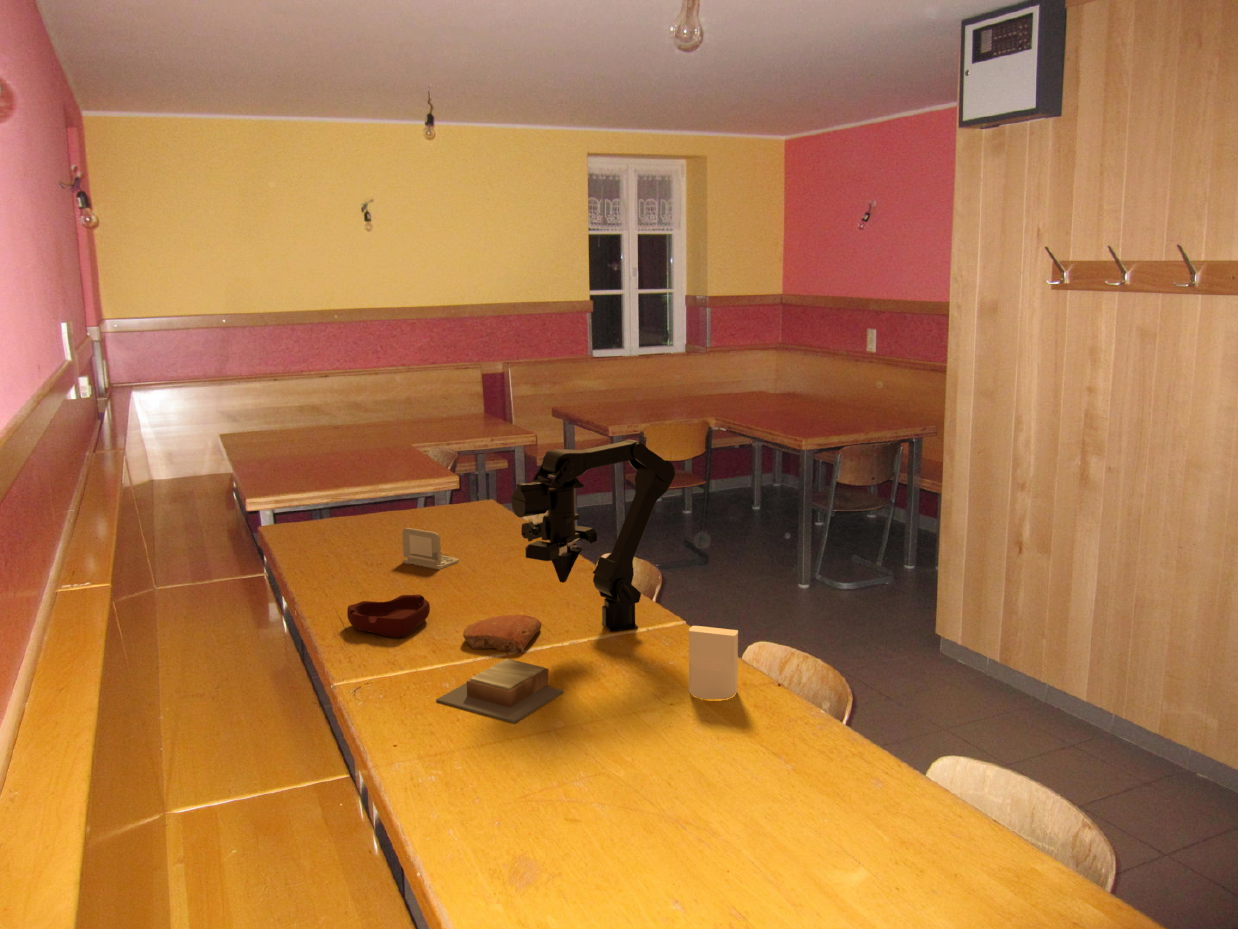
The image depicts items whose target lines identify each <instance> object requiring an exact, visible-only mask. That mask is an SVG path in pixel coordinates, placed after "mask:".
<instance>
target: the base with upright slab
mask: <svg viewBox="0 0 1238 929" xmlns="http://www.w3.org/2000/svg"><path fill="white" fill-rule="evenodd" d="M738 652H739V630H738V629H728V628H721V627H719V628H718V627H713V626H711V627H710V626H703V625H702V626H700V625H692V626H691V627H689V628H688V693H689V692H690V693H691V694H692V695H694V696H696V697H698V698H702V699H713V700H714V699H727V698H730V697H732V696H733V695H735V693H737V694H738V663H739V662H738V658H739V657H738ZM690 693H689V694H690Z"/></svg>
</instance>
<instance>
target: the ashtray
mask: <svg viewBox="0 0 1238 929" xmlns="http://www.w3.org/2000/svg"><path fill="white" fill-rule="evenodd" d="M430 606H431V605H430V602H429V601H428V600H427V599H425V597H424V596H423V595H422V594H401V595H398V596H397V597H395V598H393V599H390V600H386V601H369V600H364V601H359V602H358V603H354V604H349V605H348V606H347V610H346V611H347V613H346V614H347V620H348V622H349V623H350V625H351V626H352V627H353V628H354V629H356V630H359V631H363V632H367V633H368V632H369V633H372V634H377V635H380V636H384V637H388V638H393V639H402V638H404V637H407V636H409V635H410V634H411V633H412V632H413V631H414V630H416V628H418V626H419V625H420V624H422V622H424V621H425V620H426V619H427V618H428V617H429V615H430V611H431V609H430V608H431V607H430ZM401 637H402V638H401Z"/></svg>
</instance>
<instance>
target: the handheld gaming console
mask: <svg viewBox="0 0 1238 929" xmlns="http://www.w3.org/2000/svg"><path fill="white" fill-rule="evenodd" d="M401 535H402V537H401V538H402V552H403V553H402V555H403V559H402V561H401V563H403V564H406V565H411V564H414V565H413V566H417V565H418V566H417V567H422V566H423V567H422V568H428V569H433V570H441V569H444V568H447V567H450V566H452V565H454V564H455V565H456V564H458V563H459V562H460V561H459V560H460V559H459V558H457V557H452V556H449V555H446V554H445V555H444V554H442V551H441V550H442V548H441V547H442V546H441V536H440V534H439V533H438V532H436V531H435V532H434V531H430V530H425V529H424V530H423V529H417V528H410V527H406V528H404V529H403V530H402V533H401ZM404 558H406V559H404Z"/></svg>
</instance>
